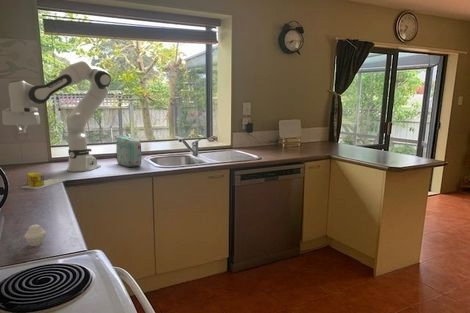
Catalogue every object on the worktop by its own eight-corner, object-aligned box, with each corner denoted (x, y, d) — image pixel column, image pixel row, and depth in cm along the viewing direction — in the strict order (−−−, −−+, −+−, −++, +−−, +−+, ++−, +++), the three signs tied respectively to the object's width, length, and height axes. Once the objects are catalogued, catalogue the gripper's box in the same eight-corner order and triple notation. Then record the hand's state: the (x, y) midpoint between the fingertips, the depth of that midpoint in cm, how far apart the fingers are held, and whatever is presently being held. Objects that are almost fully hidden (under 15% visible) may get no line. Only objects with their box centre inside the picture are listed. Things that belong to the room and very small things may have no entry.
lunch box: (114, 163, 251) (112, 135, 248) (127, 162, 258) (126, 134, 254) (129, 169, 232) (128, 138, 228) (143, 167, 239) (142, 137, 235)
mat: (50, 179, 199) (50, 178, 199) (65, 180, 196) (65, 180, 196) (20, 187, 180) (20, 187, 180) (36, 189, 177) (36, 188, 177)
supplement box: (26, 173, 187) (31, 176, 179) (38, 171, 191) (43, 174, 183) (27, 183, 188) (32, 187, 180) (39, 181, 192) (44, 185, 184)
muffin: (21, 245, 109) (19, 225, 108) (41, 239, 114) (39, 219, 113) (31, 250, 106) (29, 229, 104) (50, 243, 111) (49, 223, 109)
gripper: (-2, 109, 190) (1, 133, 192) (34, 108, 190) (37, 133, 192) (5, 108, 196) (8, 132, 198) (40, 108, 196) (43, 132, 199)
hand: (22, 132), depth 195 cm, fingers closed
